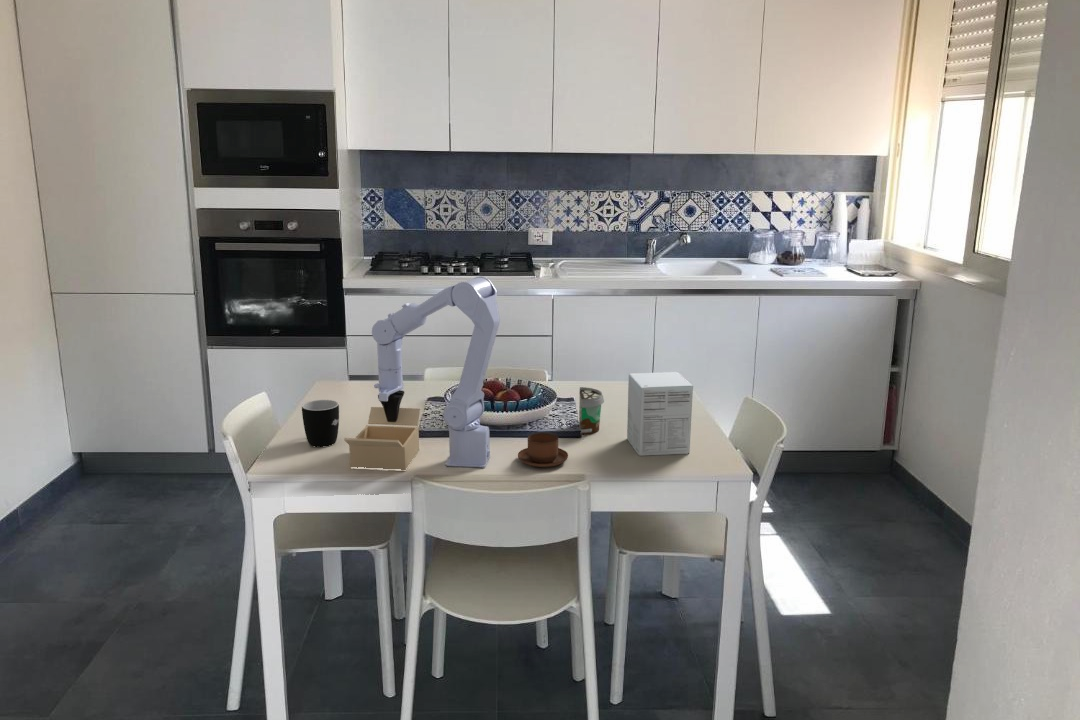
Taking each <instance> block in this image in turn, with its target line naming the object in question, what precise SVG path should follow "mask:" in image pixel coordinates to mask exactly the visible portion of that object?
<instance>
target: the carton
mask: <svg viewBox="0 0 1080 720" xmlns="http://www.w3.org/2000/svg"><path fill="white" fill-rule="evenodd" d="M419 430H420V429H419V427H417V426H395V425H388V426H387V425H366V426H364V428H362V430H361V431H360V432H359V433H358V434H357V436H355V438H358V439H384V440H399V441H400V443H401V444H402V445H403V447H379V446H354V445H349V444H348V446H349V449H348V450H349V463H350V464H349V465H350V466H349V467H357V468H358V467H364V468H365V467H366V468H383V469H401V470H406V468H407V467H408V465H409V464H410V462H411V461H412V459H413V458H414V457H415V458H416V456H417V455H418V453H419V452H420V438H419V437H420V436H419V435H420V434H419V432H420V431H419ZM418 451H419V452H418ZM417 452H418V453H417ZM416 454H417V455H416ZM415 455H416V456H415ZM415 458H414V459H415ZM414 459H413V460H414ZM412 462H413V461H412ZM412 462H411V463H412ZM410 465H411V464H410ZM410 465H409V466H410ZM408 468H409V467H408ZM408 468H407V469H408ZM406 471H407V470H406Z"/></svg>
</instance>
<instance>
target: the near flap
mask: <svg viewBox="0 0 1080 720" xmlns="http://www.w3.org/2000/svg"><path fill="white" fill-rule="evenodd" d="M343 440H344V441H345V442H346V443H347V444H348V446H349V445H354V446H379V447H403V445H402V444H401V443H400V441H399V440H384V439H358V438H356V437H354V438H353V437H351V438H350V437H344V438H343Z"/></svg>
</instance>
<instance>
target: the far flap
mask: <svg viewBox="0 0 1080 720" xmlns="http://www.w3.org/2000/svg"><path fill="white" fill-rule="evenodd" d="M420 415H421V408H410V407H408V408H407V407H406V408H405V407H399V413H398V419H397V421H396V422H388V421H387V418H386V415H385V411H384V408H383V406H382V407H381V406H380V407H379V406H378V407H377V406H370V412H369V415H368V422H367V424H368V425H382V426H387V425H388V426H409V427H417V426H419V421H420Z"/></svg>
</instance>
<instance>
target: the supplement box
mask: <svg viewBox="0 0 1080 720" xmlns="http://www.w3.org/2000/svg"><path fill="white" fill-rule="evenodd" d="M627 385H628V389H627V428H626V429H627V430H626V437H627V441H628V443H630V445H631V446H632V448H633V449H634V451H635V453H637V455H638V456H640V457H641V456H663V455H664V456H665V455H667V456H669V455H686V454H688V453H689V454H690V451H691V449H690V448H691V433H692V411H693V410H692V409H693V397H694V396H693V392H694V385H693V384H692V383H691V382H690V381H688V380H687V379H686V377H684V376H683V375H682V374H681V373H680V372H678V371H666V372H663V371H662V372H661V371H660V372H633V373H628V384H627ZM689 454H688V455H689Z"/></svg>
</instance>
